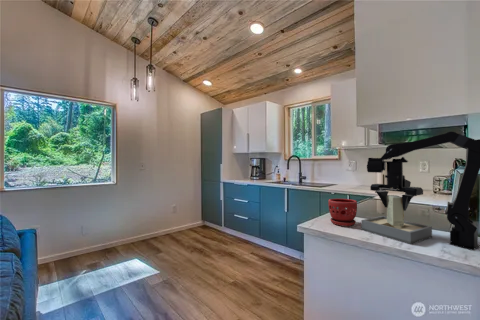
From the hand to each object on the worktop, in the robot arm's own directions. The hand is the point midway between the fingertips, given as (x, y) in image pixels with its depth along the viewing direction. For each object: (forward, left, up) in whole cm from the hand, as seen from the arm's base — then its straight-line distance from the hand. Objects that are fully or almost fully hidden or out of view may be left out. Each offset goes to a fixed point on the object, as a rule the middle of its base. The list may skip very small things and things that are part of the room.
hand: (395, 208), depth 98 cm
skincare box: (0, 0, -7) cm, 7 cm away
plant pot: (+21, +7, -11) cm, 25 cm away
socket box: (0, 0, -11) cm, 11 cm away
